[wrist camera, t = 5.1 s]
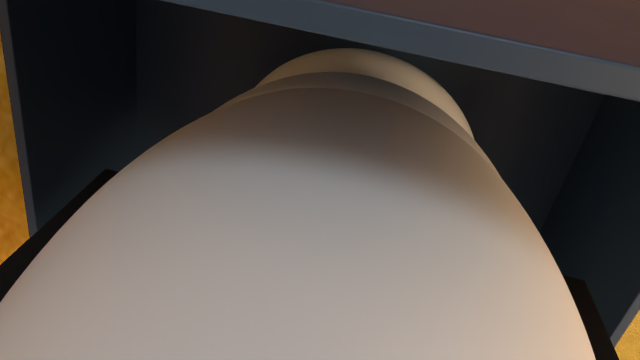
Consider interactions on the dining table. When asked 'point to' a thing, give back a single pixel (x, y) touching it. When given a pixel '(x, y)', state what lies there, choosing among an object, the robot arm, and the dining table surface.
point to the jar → (303, 237)
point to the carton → (362, 33)
